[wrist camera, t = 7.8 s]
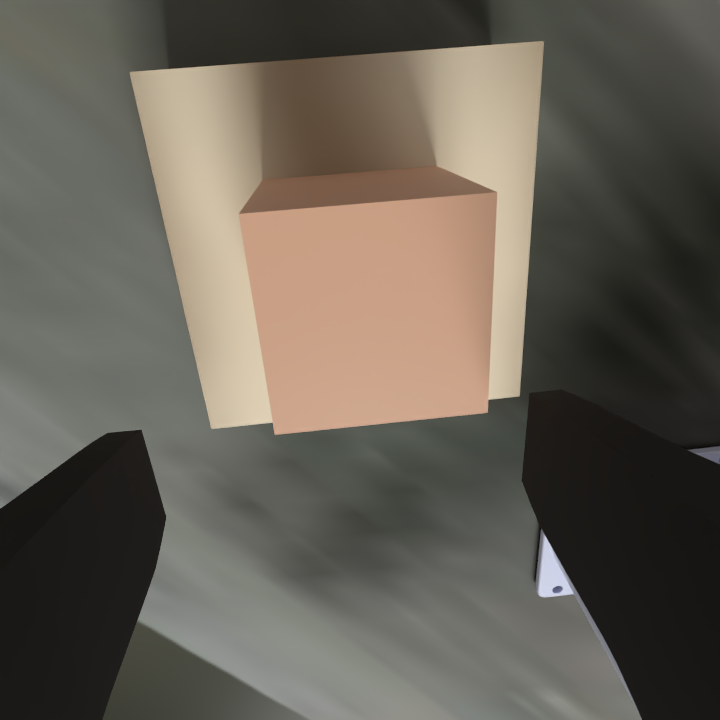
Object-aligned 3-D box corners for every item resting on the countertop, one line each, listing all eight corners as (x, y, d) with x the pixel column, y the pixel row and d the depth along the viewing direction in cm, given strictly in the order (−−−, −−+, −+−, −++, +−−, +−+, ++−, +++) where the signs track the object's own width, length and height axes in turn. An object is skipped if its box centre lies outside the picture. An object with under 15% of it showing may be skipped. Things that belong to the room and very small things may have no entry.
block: (436, 165, 14) (497, 192, 9) (437, 326, 16) (487, 412, 11) (262, 180, 14) (238, 213, 9) (285, 341, 16) (274, 434, 11)
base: (493, 56, 16) (543, 41, 13) (483, 346, 21) (519, 396, 17) (170, 80, 16) (129, 71, 12) (228, 372, 20) (211, 428, 17)
